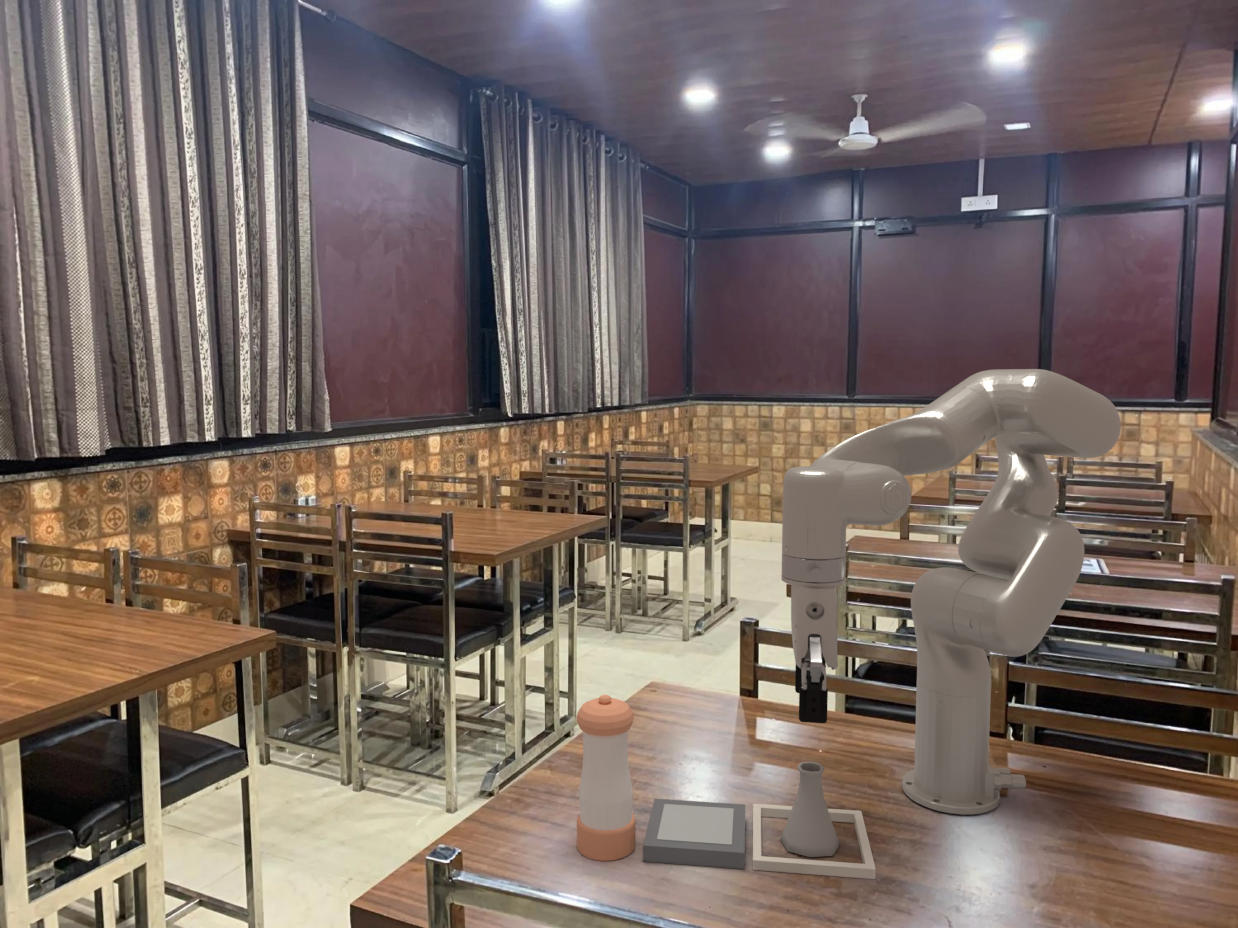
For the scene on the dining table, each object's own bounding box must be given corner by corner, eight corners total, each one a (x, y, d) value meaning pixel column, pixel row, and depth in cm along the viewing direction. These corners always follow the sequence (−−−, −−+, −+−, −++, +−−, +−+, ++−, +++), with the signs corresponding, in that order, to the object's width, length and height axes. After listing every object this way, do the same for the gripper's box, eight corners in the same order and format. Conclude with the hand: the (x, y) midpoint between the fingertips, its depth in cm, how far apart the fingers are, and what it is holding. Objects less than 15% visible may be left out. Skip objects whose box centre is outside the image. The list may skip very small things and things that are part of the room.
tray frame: (861, 819, 115) (861, 810, 115) (875, 879, 102) (875, 869, 101) (753, 812, 117) (753, 803, 117) (752, 869, 104) (752, 859, 104)
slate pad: (745, 818, 116) (745, 803, 115) (744, 868, 104) (744, 851, 104) (654, 812, 117) (654, 797, 117) (643, 861, 106) (643, 844, 105)
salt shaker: (643, 835, 112) (642, 688, 110) (624, 865, 105) (623, 709, 103) (589, 826, 114) (587, 682, 112) (567, 855, 107) (566, 702, 105)
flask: (841, 862, 105) (842, 781, 104) (779, 856, 107) (780, 776, 106) (838, 831, 112) (839, 756, 111) (780, 826, 114) (781, 751, 113)
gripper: (853, 586, 97) (849, 736, 99) (838, 556, 114) (835, 684, 116) (783, 583, 98) (781, 732, 100) (779, 554, 115) (777, 681, 117)
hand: (810, 706), depth 108 cm, fingers open, 9 cm apart
